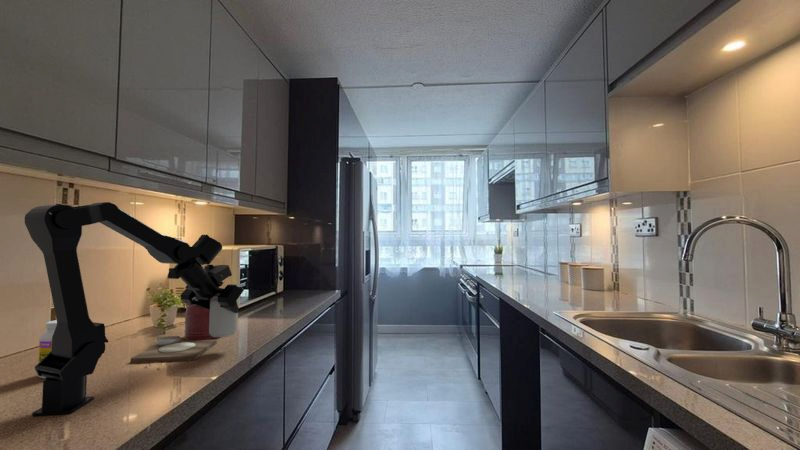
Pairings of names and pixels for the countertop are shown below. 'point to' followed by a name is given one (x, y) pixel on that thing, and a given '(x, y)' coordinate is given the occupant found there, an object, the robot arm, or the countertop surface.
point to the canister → (197, 323)
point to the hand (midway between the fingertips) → (227, 311)
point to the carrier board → (174, 350)
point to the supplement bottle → (46, 341)
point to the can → (222, 320)
